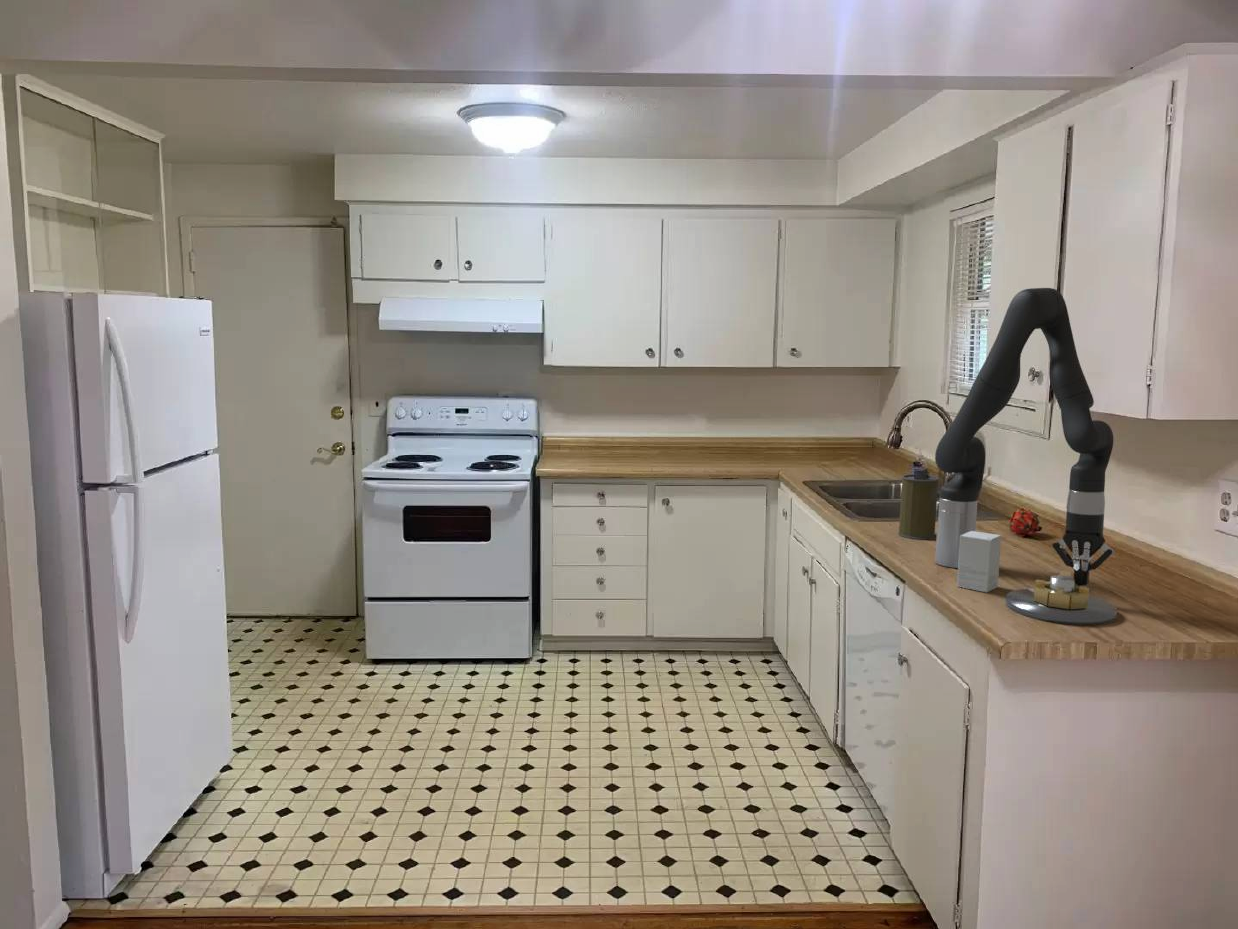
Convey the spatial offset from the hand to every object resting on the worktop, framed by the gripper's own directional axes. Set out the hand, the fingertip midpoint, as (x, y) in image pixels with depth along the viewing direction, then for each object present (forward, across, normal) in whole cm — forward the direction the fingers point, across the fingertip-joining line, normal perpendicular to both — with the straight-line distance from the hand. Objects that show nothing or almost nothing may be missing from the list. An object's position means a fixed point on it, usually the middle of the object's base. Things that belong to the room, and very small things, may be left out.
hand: (1080, 586), depth 211 cm
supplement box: (+3, +22, +4) cm, 22 cm away
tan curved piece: (+2, +2, +7) cm, 8 cm away
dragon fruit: (+3, +31, -62) cm, 70 cm away
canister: (+2, +54, -39) cm, 67 cm away
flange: (+4, +2, +10) cm, 11 cm away
